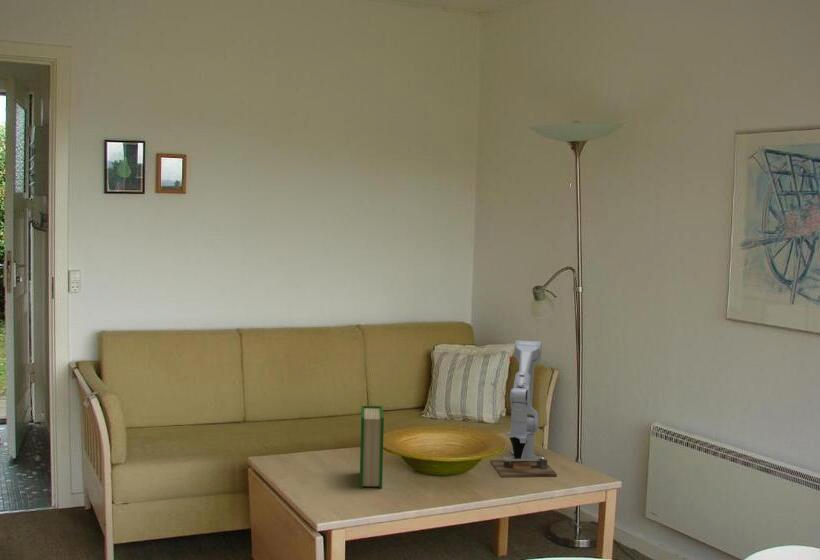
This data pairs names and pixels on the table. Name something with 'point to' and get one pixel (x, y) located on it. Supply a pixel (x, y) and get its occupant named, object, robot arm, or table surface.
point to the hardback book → (371, 446)
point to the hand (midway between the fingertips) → (517, 457)
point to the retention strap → (524, 458)
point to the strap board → (523, 468)
